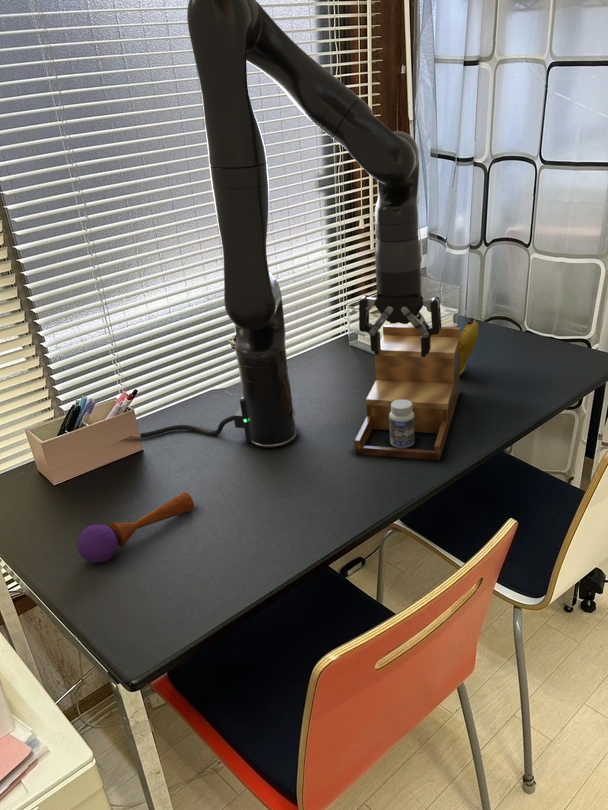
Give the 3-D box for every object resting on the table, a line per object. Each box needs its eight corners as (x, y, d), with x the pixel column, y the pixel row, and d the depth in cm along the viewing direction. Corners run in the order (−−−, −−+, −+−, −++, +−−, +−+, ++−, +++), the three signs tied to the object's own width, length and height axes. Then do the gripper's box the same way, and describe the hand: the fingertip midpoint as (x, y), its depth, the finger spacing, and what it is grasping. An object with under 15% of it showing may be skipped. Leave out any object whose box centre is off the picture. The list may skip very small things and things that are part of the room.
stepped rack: (355, 454, 134) (350, 382, 126) (386, 389, 156) (383, 325, 148) (439, 460, 130) (439, 386, 122) (459, 393, 152) (460, 327, 144)
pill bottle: (394, 450, 134) (393, 411, 129) (387, 439, 138) (385, 400, 133) (418, 446, 135) (417, 406, 130) (410, 434, 138) (409, 396, 134)
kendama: (198, 496, 118) (88, 548, 105) (198, 523, 121) (92, 576, 108) (177, 478, 121) (67, 527, 108) (178, 505, 124) (71, 555, 111)
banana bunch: (486, 377, 158) (489, 312, 150) (461, 388, 154) (462, 323, 146) (449, 363, 166) (449, 301, 158) (424, 373, 162) (423, 310, 154)
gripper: (351, 270, 117) (357, 361, 126) (436, 271, 113) (436, 364, 122) (362, 257, 123) (367, 344, 132) (443, 258, 120) (443, 347, 128)
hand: (400, 354), depth 127 cm, fingers open, 8 cm apart
